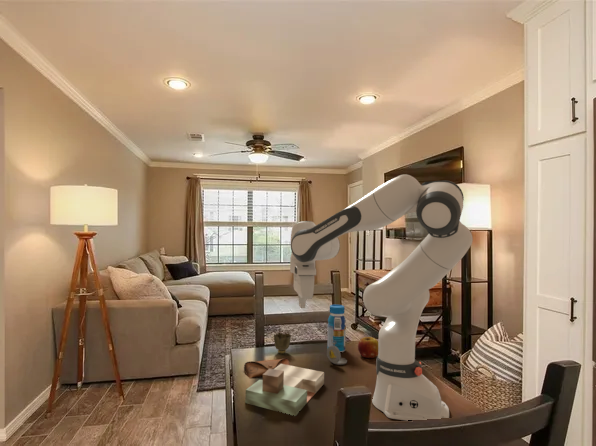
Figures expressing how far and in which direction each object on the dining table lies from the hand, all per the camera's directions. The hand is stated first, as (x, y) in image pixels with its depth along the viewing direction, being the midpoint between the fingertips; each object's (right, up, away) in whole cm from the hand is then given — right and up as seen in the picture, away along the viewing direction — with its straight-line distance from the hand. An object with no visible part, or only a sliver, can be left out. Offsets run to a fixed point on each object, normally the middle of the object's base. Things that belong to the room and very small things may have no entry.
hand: (302, 307), depth 120 cm
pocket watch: (+14, -28, +20) cm, 37 cm away
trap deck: (-5, -27, -7) cm, 28 cm away
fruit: (+29, -29, +29) cm, 50 cm away
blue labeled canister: (+16, -28, +36) cm, 49 cm away
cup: (-8, -28, +31) cm, 42 cm away
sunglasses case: (-12, -28, +10) cm, 32 cm away
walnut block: (-9, -22, -13) cm, 27 cm away
